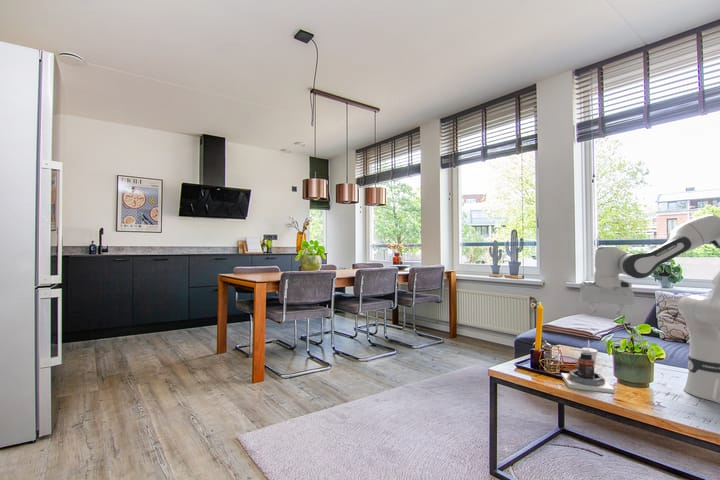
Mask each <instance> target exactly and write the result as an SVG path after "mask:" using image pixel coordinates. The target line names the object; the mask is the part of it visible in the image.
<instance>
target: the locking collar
mask: <svg viewBox="0 0 720 480" xmlns="http://www.w3.org/2000/svg"><path fill="white" fill-rule="evenodd" d="M567 374H568V379H570V380H572V381H574V382H577V383H580V384H583V385H590V386H600V385H604V383H605V381H606V379H605V378H604V377H603V376H602V375H601V374H600V373H597V372H594V379H590V378H583V377H580V376H578V369H573V370H569V371H568V373H567Z"/></svg>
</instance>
